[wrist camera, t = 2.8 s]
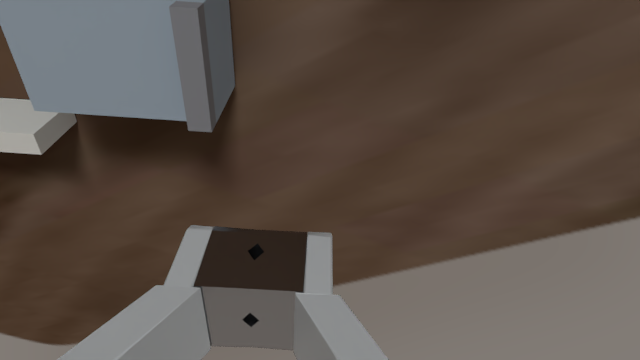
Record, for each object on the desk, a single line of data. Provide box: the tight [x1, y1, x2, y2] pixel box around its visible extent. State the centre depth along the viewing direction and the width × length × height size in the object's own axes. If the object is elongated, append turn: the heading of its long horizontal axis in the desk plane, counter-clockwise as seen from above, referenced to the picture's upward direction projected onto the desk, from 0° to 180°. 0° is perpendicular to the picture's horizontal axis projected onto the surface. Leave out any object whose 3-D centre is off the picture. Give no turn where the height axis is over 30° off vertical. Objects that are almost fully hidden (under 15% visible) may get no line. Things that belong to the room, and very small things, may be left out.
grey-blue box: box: [0, 0, 235, 132], centre depth 18 cm, size 8×5×6 cm, turn 87°
